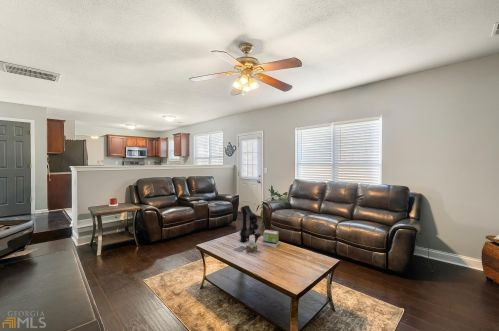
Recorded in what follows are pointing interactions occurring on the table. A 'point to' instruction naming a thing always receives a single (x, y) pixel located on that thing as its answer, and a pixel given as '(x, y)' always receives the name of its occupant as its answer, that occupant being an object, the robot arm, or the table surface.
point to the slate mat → (240, 249)
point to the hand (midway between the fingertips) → (251, 242)
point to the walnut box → (251, 249)
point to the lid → (251, 244)
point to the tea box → (270, 238)
